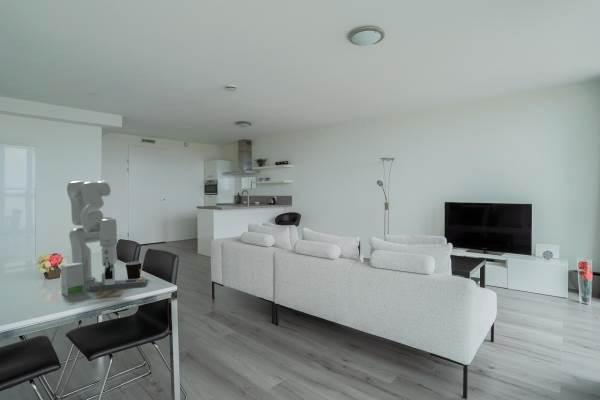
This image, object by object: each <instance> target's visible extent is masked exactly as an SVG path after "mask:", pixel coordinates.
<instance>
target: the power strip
mask: <svg viewBox="0 0 600 400" xmlns="http://www.w3.org/2000/svg"><path fill="white" fill-rule="evenodd" d="M146 283H147V278H146V277H140V278H139V279H128V278H127V279H119V280H115V283H114V284H112V285H102V281H96V282H93V283H92V284H91V285H90V286H89V292H99V291H100V292H101V291H111V290H120V289H128V288H129V289H130V288H139V287H145V285H146Z"/></svg>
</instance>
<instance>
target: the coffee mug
mask: <svg viewBox="0 0 600 400" xmlns="http://www.w3.org/2000/svg"><path fill="white" fill-rule="evenodd" d="M142 263H143V262H142V261H137V260H136V261H130V262H125V269H126V275H127V280H128V279H139V278H141V273H142Z"/></svg>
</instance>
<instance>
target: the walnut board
mask: <svg viewBox="0 0 600 400" xmlns="http://www.w3.org/2000/svg"><path fill="white" fill-rule="evenodd" d="M124 290H125V288H121V289H111V290H100V292H99V293H98V294H97V295H96V296H95V299H102V298H112V297H120V296H121V295H122V293H123V292H124Z"/></svg>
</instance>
